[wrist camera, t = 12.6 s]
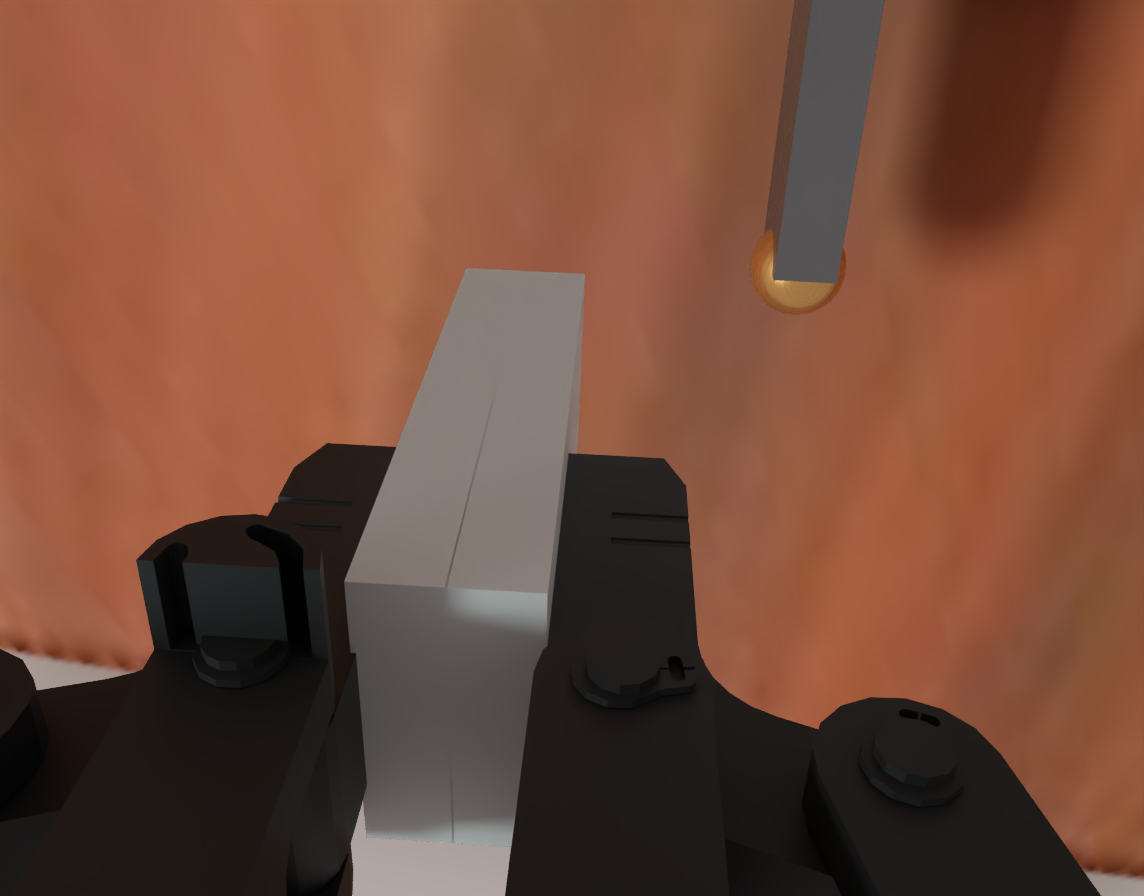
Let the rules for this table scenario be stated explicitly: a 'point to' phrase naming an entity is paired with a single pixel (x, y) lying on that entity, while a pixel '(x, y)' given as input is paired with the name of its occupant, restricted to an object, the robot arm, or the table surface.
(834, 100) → the knob
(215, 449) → the table surface
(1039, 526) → the table surface
